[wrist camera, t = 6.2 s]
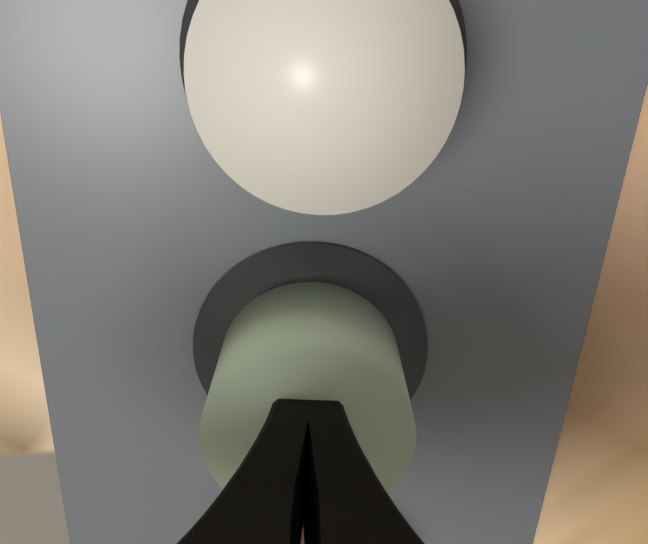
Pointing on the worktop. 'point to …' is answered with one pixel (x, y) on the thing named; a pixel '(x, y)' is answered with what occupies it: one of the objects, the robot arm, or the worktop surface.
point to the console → (313, 255)
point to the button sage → (309, 376)
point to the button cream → (324, 95)
